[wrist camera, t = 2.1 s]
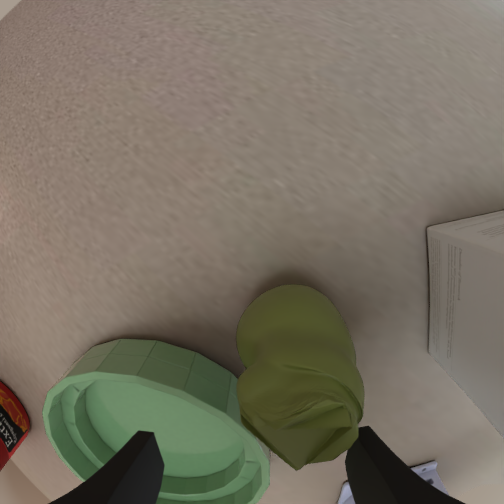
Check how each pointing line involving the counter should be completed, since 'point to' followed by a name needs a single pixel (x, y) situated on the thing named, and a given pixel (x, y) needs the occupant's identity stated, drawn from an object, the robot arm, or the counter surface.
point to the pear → (298, 376)
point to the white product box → (470, 308)
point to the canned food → (11, 424)
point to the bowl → (158, 420)
